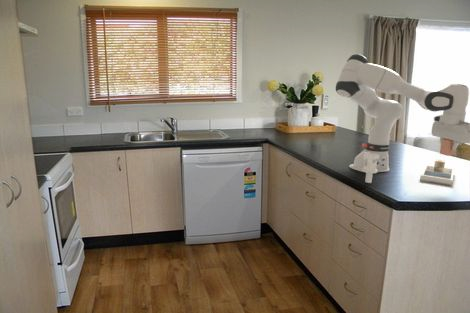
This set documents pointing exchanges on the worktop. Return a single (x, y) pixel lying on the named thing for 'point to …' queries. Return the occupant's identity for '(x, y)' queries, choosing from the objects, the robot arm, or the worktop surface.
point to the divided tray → (437, 175)
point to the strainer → (370, 165)
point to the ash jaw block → (439, 165)
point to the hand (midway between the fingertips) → (448, 148)
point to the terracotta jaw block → (447, 147)
